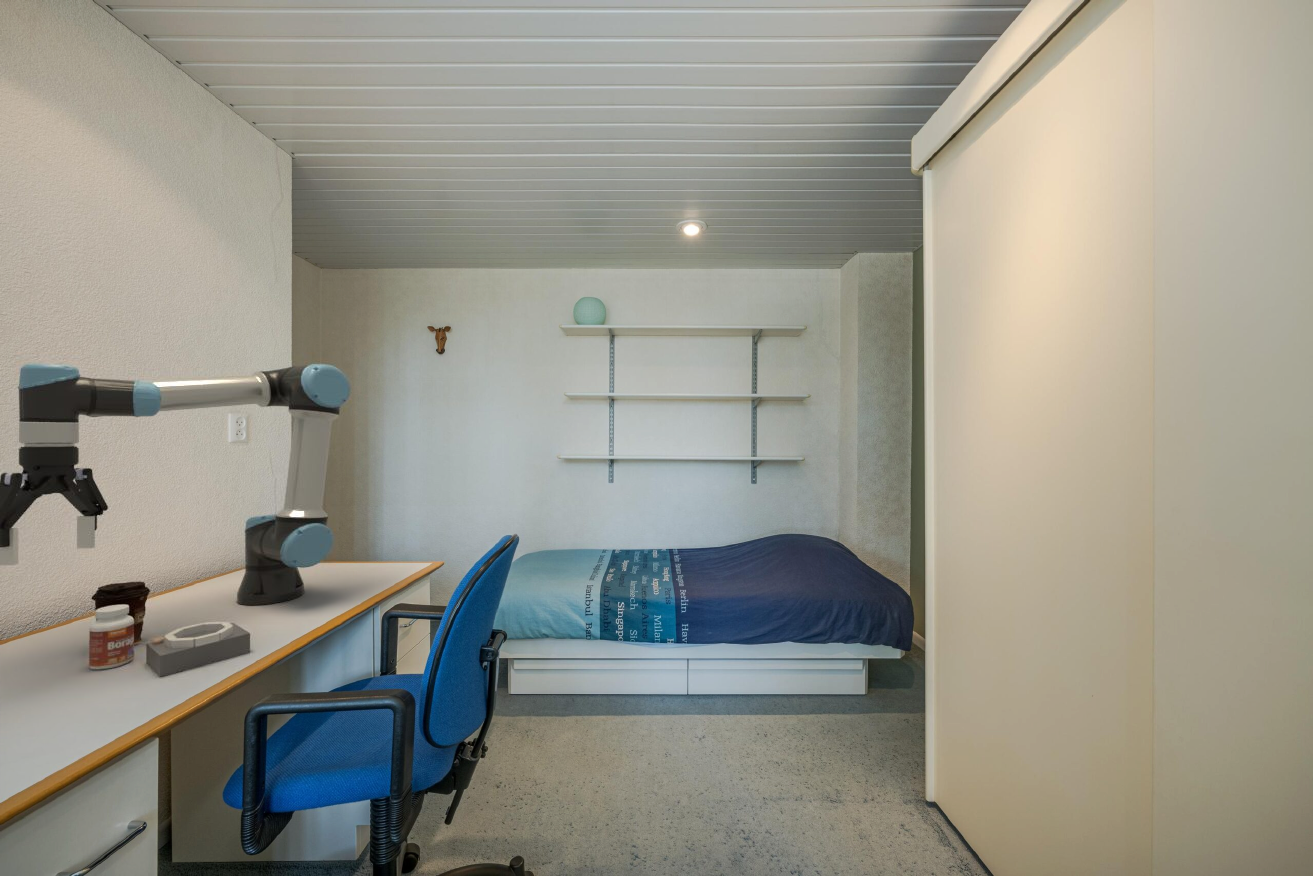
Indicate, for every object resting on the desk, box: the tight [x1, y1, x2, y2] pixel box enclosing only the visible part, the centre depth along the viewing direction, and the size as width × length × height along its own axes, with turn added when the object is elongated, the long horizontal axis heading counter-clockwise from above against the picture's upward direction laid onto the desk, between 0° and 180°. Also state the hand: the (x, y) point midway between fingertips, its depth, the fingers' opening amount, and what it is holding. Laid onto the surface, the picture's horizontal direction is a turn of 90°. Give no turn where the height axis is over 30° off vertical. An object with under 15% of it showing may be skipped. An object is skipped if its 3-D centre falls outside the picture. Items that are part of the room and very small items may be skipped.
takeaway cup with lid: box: [90, 581, 151, 646], centre depth 113 cm, size 9×8×13 cm
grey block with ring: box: [145, 621, 251, 678], centre depth 107 cm, size 14×10×6 cm
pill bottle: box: [88, 604, 135, 670], centre depth 104 cm, size 6×6×11 cm
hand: (49, 556), depth 101 cm, fingers open, 13 cm apart
